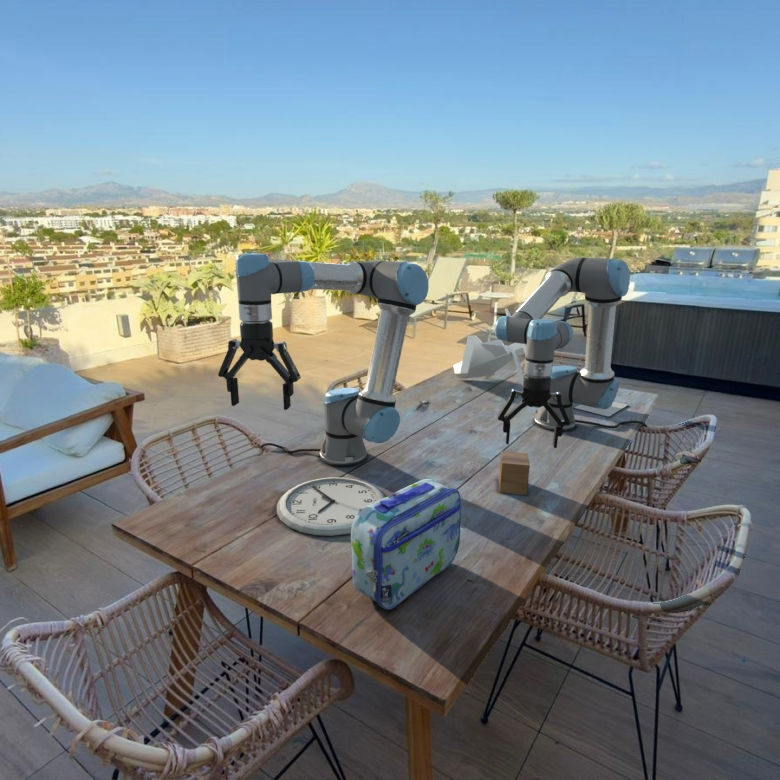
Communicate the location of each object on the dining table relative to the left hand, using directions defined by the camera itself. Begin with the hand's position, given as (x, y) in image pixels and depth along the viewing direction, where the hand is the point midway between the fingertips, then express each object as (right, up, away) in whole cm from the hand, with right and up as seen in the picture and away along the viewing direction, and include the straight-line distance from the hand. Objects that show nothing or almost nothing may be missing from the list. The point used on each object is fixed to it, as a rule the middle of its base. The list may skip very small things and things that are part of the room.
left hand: (261, 406), depth 130 cm
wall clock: (+16, -28, +13) cm, 35 cm away
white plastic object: (+81, +6, +123) cm, 148 cm away
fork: (+46, -3, +95) cm, 105 cm away
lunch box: (+36, -37, -17) cm, 54 cm away
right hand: (+73, -12, +24) cm, 78 cm away
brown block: (+68, -25, +25) cm, 77 cm away
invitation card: (+124, -3, +97) cm, 157 cm away
